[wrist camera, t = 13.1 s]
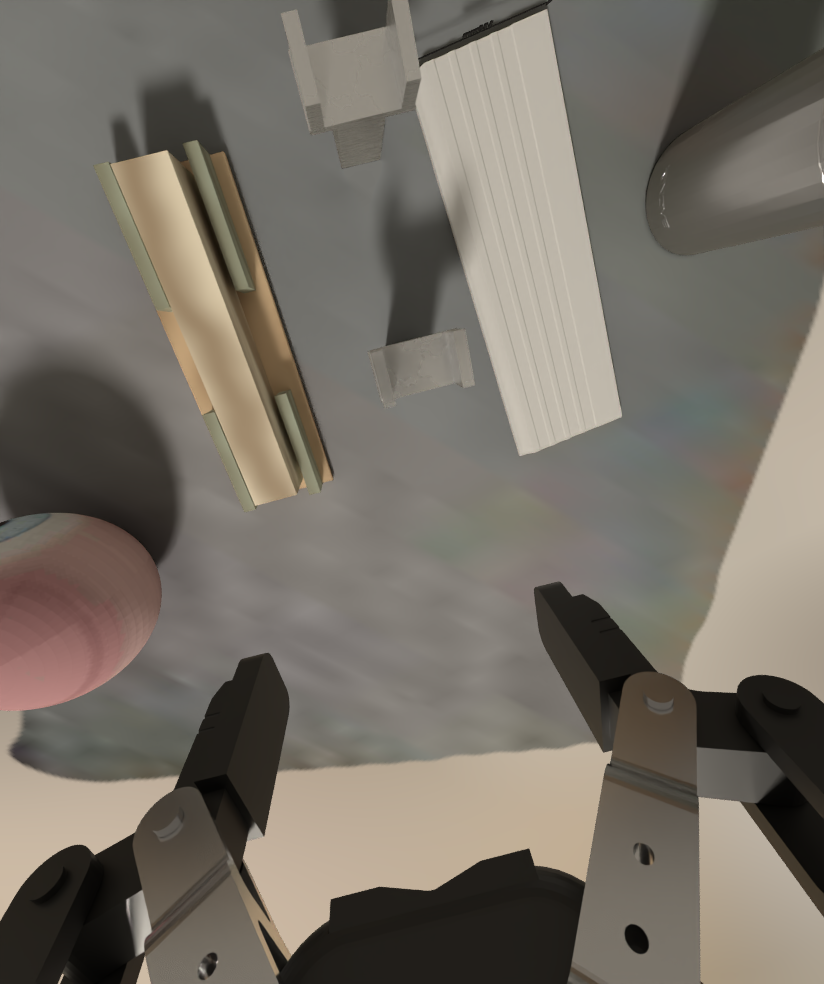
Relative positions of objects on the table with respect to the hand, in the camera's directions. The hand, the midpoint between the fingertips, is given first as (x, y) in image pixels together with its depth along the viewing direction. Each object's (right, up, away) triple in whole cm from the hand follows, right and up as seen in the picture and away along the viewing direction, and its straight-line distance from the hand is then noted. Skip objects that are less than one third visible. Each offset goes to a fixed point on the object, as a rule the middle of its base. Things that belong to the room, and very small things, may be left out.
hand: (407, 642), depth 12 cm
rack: (-15, +16, +23) cm, 32 cm away
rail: (-15, +16, +22) cm, 31 cm away
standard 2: (0, +16, +25) cm, 30 cm away
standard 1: (-4, +31, +19) cm, 36 cm away
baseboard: (+9, +23, +24) cm, 35 cm away
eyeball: (-30, -2, +28) cm, 41 cm away
